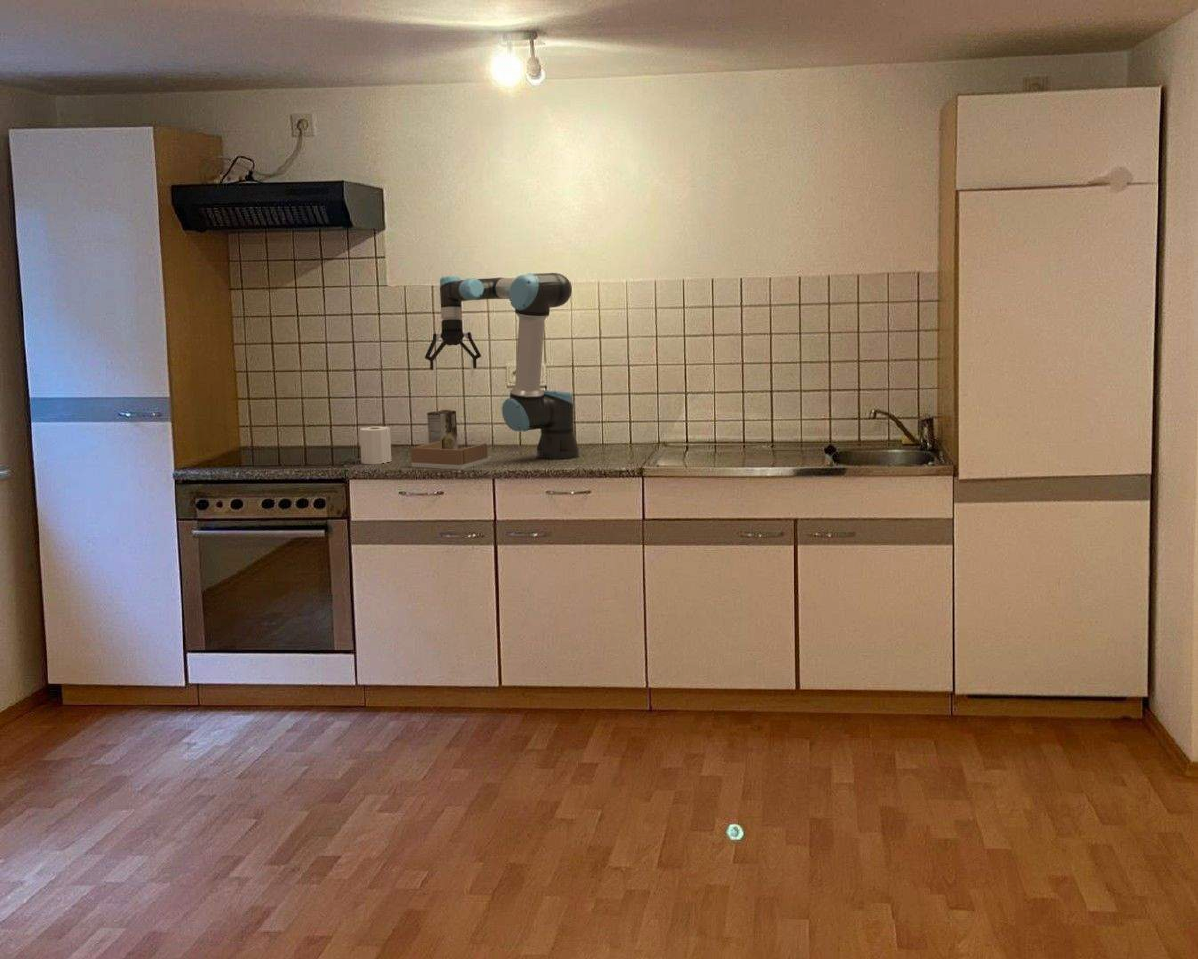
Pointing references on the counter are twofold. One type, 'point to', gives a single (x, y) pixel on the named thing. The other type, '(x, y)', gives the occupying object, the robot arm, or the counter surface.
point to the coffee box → (443, 428)
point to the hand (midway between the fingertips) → (453, 378)
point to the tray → (448, 456)
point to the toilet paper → (375, 445)
